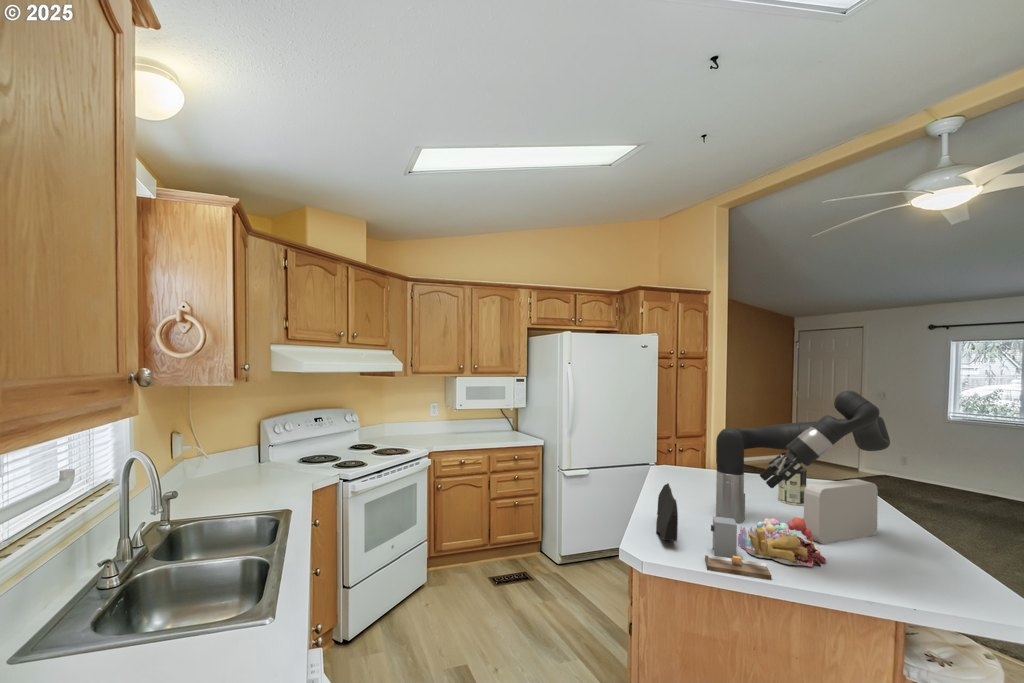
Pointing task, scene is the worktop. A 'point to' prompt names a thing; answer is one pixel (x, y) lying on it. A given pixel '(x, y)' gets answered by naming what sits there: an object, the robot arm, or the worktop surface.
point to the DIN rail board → (737, 567)
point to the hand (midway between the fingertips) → (765, 481)
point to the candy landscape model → (781, 542)
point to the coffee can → (793, 489)
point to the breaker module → (724, 537)
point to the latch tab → (737, 558)
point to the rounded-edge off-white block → (841, 510)
